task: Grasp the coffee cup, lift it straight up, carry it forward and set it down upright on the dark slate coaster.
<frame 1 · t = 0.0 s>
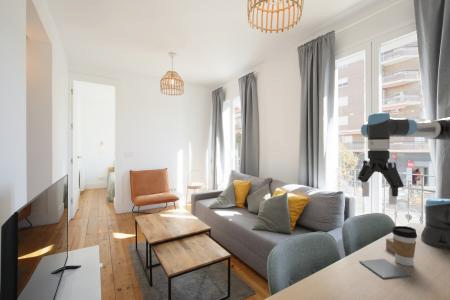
hand: (378, 200, 92), 28 cm above the table, fingers open, 13 cm apart
coffee cup: (404, 262, 95), on the table
slate coaster: (383, 268, 90), on the table
walnut block: (395, 250, 106), on the table
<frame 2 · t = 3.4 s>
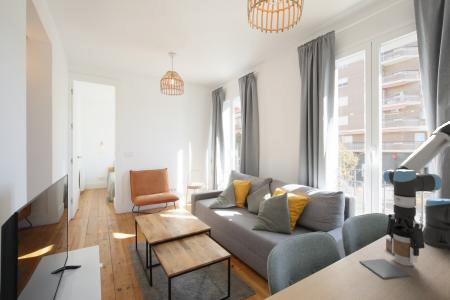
hand: (404, 257, 95), 2 cm above the table, fingers closed on coffee cup, 8 cm apart
coffee cup: (404, 262, 95), on the table, touching gripper
everything else where it was.
when the fingers open (5 cm above the table, at t = 9.2 s): coffee cup drops 2 cm, resting on slate coaster.
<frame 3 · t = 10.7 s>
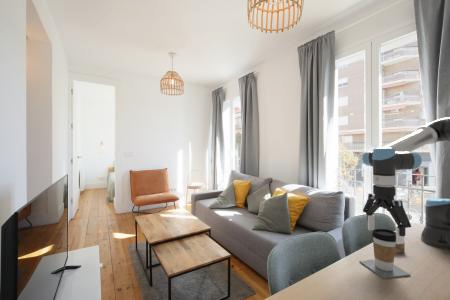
hand: (384, 236, 90), 13 cm above the table, fingers open, 13 cm apart
coffee cup: (383, 267, 90), resting on slate coaster
everything else where it was.
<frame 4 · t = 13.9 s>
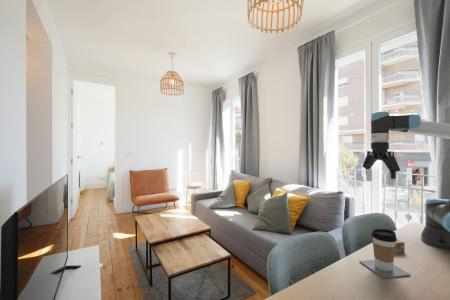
hand: (379, 183, 112), 32 cm above the table, fingers open, 13 cm apart
nothing on the table moved.
at the end: coffee cup inside the target area on the slate coaster (0.0 cm from its centre), point 0.4 cm above the slate coaster's base; coffee cup tilted 0°; the gripper is holding nothing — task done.
